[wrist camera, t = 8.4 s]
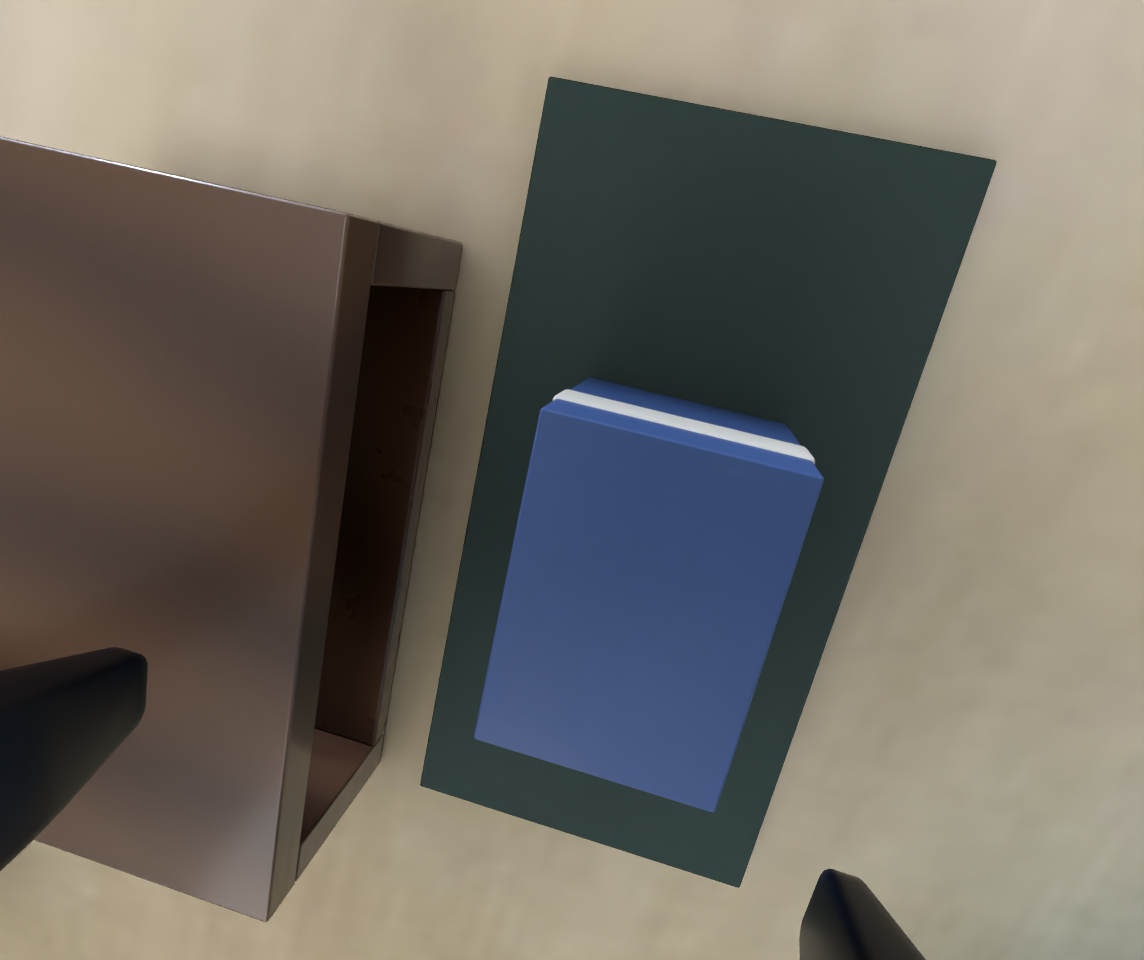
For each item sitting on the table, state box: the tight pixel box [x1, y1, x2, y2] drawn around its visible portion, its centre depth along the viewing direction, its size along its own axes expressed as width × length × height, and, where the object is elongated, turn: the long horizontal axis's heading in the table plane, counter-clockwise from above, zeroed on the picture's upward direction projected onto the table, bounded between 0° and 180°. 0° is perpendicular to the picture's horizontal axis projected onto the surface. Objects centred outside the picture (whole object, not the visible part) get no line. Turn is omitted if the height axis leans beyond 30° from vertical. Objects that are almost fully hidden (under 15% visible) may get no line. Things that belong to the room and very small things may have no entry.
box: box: [474, 377, 824, 812], centre depth 16 cm, size 7×5×6 cm
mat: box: [420, 77, 996, 888], centre depth 18 cm, size 20×10×1 cm, turn 168°
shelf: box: [0, 137, 462, 922], centre depth 18 cm, size 16×9×6 cm, turn 168°
